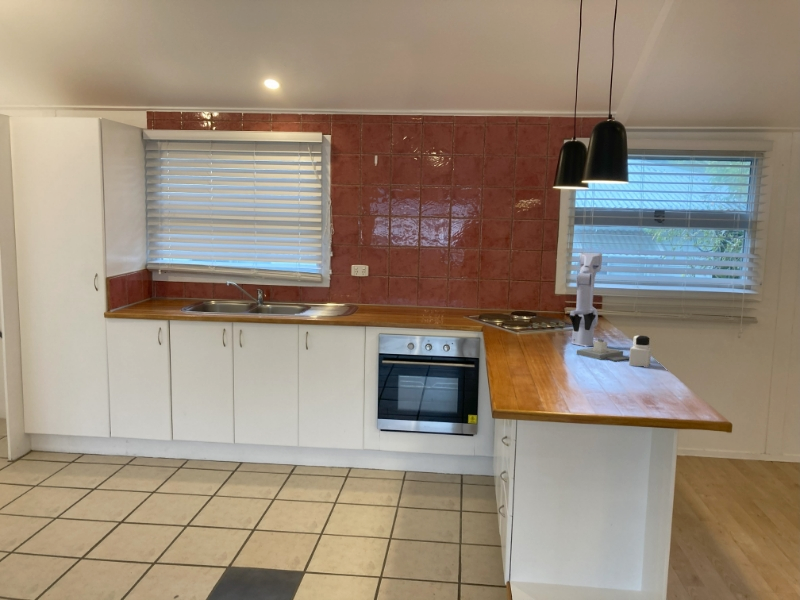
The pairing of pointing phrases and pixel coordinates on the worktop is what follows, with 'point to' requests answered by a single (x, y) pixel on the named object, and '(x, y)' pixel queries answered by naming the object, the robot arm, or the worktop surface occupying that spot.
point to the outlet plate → (597, 355)
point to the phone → (617, 358)
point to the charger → (600, 346)
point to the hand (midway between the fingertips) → (581, 330)
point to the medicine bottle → (640, 351)
